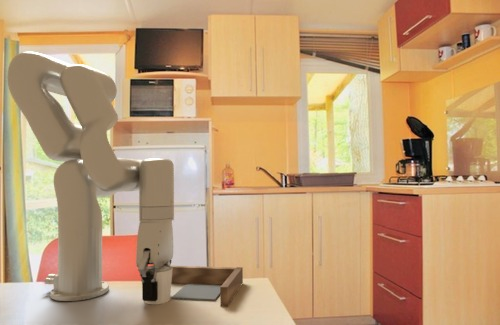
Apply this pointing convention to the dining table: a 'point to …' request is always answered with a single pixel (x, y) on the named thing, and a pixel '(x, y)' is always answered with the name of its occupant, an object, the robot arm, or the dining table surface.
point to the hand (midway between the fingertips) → (157, 294)
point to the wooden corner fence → (211, 279)
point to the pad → (198, 292)
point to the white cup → (163, 284)
